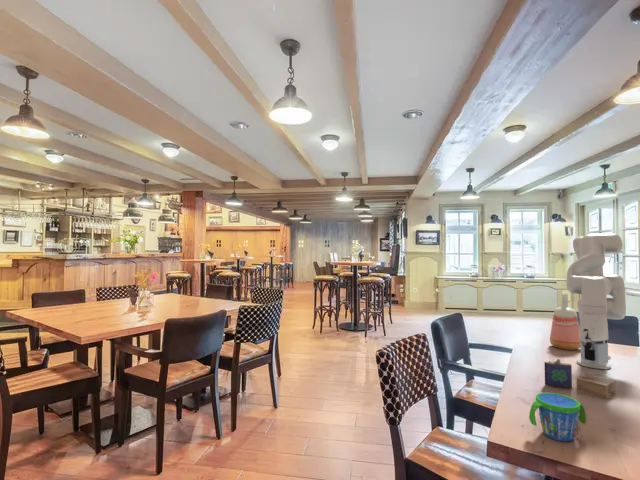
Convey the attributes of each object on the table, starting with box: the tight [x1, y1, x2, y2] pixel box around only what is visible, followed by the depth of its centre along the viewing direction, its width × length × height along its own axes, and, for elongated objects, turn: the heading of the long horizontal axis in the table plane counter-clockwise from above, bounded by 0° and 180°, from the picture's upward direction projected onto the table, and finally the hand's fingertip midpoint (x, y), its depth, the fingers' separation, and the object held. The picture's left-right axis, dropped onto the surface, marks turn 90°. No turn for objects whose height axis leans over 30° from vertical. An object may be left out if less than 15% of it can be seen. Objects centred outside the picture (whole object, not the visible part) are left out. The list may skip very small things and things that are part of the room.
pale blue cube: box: [582, 340, 609, 364], centre depth 133 cm, size 6×6×7 cm
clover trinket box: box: [543, 358, 573, 389], centre depth 139 cm, size 9×3×11 cm, turn 74°
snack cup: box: [528, 392, 588, 442], centre depth 101 cm, size 16×10×10 cm
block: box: [576, 373, 616, 400], centre depth 133 cm, size 9×9×5 cm
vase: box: [549, 293, 581, 351], centre depth 196 cm, size 14×14×30 cm
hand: (595, 358), depth 133 cm, fingers closed on pale blue cube, 5 cm apart
